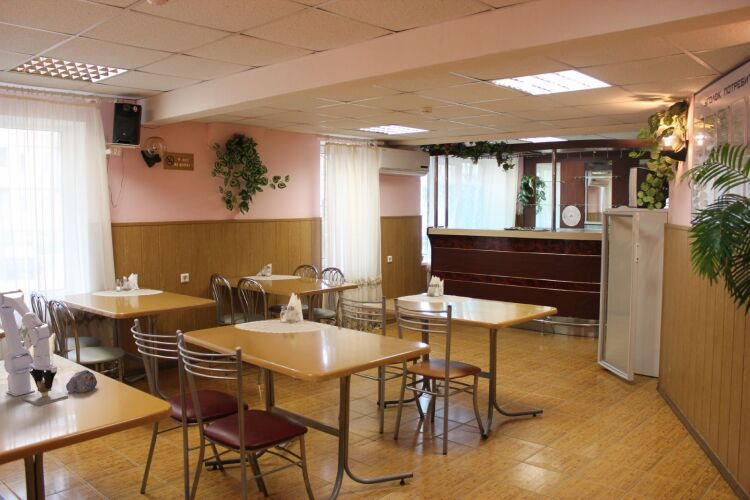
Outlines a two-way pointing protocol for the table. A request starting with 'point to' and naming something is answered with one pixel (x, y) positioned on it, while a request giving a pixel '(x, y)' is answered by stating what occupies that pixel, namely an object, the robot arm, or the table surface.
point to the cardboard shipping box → (42, 386)
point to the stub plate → (44, 397)
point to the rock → (81, 382)
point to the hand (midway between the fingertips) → (44, 387)
